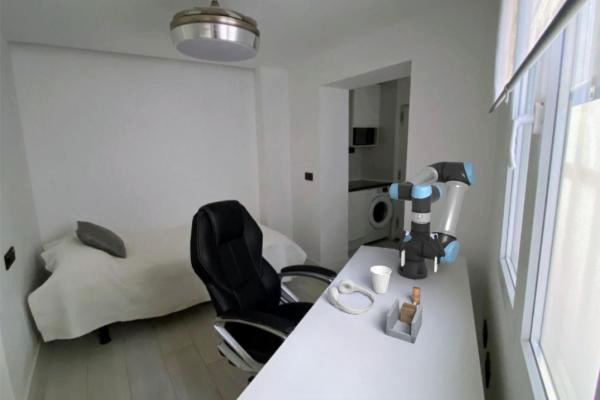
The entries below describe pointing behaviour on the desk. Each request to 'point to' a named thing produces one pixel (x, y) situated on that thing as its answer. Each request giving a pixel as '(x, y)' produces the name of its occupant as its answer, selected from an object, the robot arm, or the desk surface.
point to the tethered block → (410, 307)
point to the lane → (392, 320)
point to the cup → (380, 278)
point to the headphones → (347, 288)
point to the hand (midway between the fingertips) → (418, 267)
